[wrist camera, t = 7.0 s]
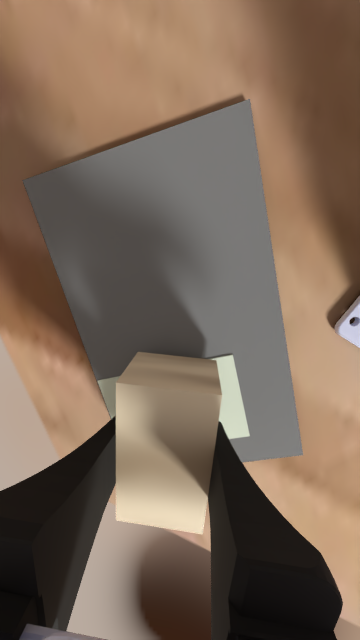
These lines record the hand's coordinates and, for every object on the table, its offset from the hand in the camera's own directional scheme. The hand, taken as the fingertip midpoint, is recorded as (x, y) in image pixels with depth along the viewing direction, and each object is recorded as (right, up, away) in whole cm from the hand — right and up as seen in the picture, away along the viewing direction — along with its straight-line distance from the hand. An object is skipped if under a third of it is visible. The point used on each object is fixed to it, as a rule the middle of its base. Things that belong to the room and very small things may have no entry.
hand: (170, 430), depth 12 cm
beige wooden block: (0, 0, +1) cm, 1 cm away
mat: (0, +6, +1) cm, 6 cm away
